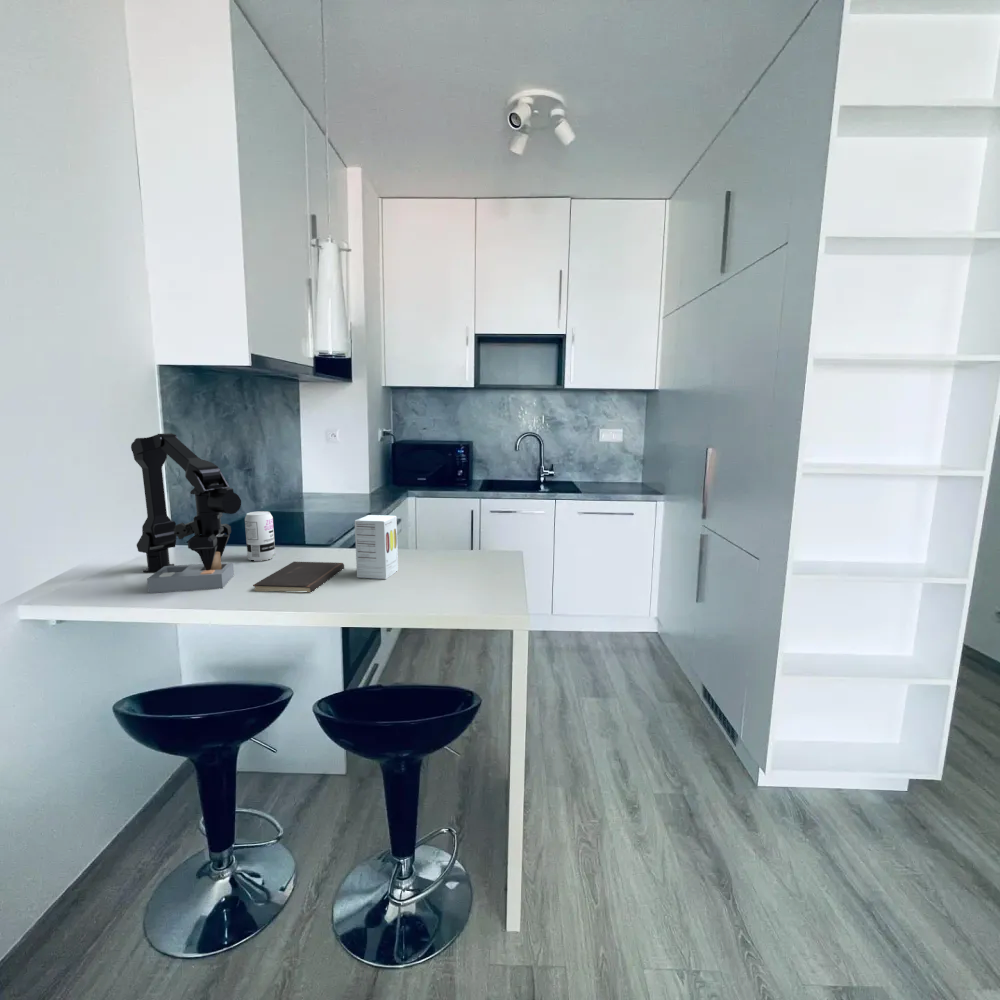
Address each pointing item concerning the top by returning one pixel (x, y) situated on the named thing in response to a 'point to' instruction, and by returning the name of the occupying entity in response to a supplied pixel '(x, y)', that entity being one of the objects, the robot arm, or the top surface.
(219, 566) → the walnut peg
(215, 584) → the socket block
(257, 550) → the supplement can
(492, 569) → the top surface
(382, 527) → the supplement box
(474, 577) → the top surface
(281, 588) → the hardcover book
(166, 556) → the robot arm
